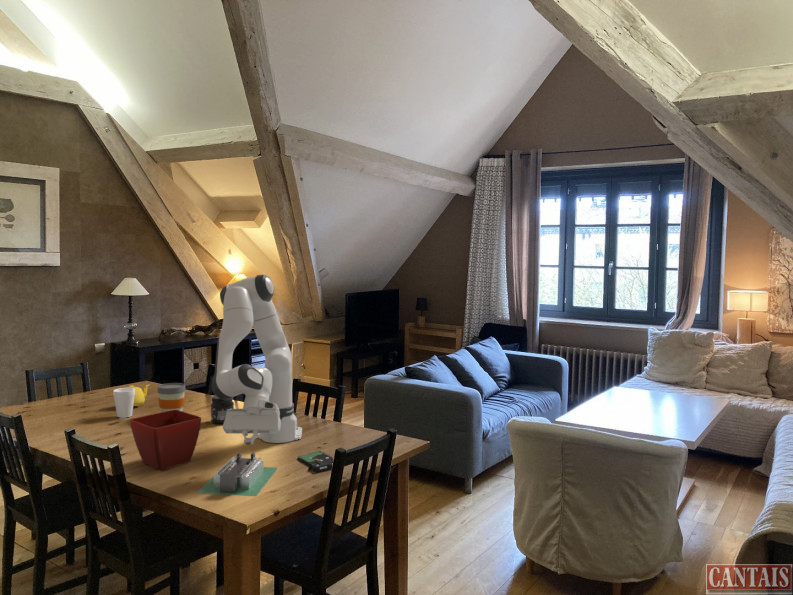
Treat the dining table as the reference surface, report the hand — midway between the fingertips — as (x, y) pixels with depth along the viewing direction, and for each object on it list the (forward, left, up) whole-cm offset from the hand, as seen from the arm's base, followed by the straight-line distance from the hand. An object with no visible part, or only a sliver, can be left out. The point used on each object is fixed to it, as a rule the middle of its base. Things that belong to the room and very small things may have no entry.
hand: (248, 443), depth 213 cm
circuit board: (+5, -2, -12) cm, 13 cm away
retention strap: (+5, -2, -8) cm, 10 cm away
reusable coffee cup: (-73, -62, -12) cm, 97 cm away
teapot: (-89, -90, -13) cm, 127 cm away
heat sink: (+6, -2, -11) cm, 13 cm away
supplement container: (-67, -35, -13) cm, 77 cm away
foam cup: (-70, -84, -12) cm, 110 cm away
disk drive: (-16, +22, -13) cm, 30 cm away
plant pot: (-12, -36, -13) cm, 40 cm away
